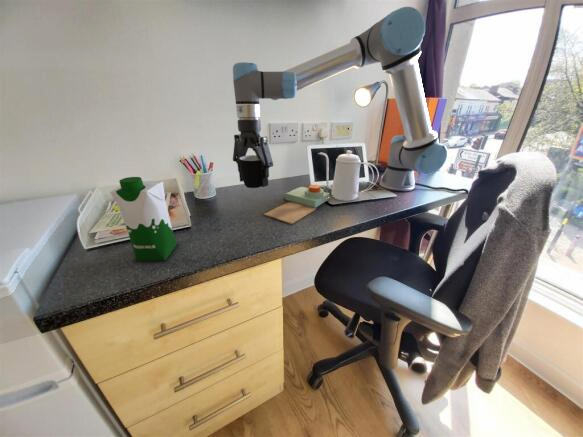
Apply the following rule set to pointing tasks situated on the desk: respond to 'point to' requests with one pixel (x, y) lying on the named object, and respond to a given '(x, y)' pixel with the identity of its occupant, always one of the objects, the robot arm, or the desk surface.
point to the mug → (251, 171)
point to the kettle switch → (314, 188)
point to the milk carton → (145, 218)
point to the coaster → (290, 212)
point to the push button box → (307, 197)
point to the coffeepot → (346, 176)
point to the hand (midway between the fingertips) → (253, 183)
